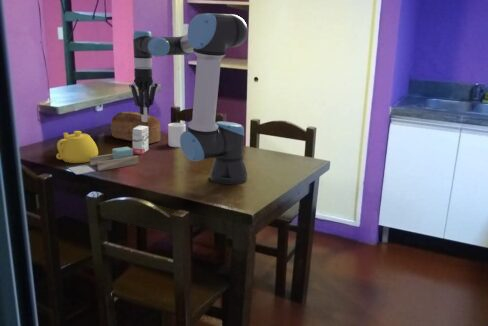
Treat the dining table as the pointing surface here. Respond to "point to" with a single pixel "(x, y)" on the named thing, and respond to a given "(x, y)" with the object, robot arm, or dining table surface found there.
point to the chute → (112, 161)
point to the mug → (175, 133)
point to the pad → (81, 169)
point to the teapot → (76, 148)
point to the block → (122, 152)
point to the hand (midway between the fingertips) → (144, 121)
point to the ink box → (140, 139)
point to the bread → (129, 120)
